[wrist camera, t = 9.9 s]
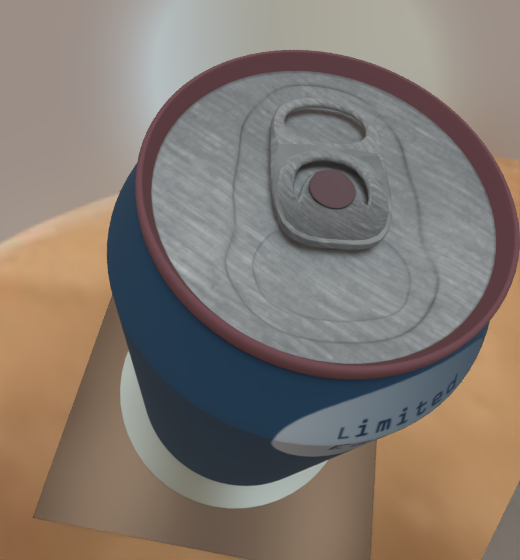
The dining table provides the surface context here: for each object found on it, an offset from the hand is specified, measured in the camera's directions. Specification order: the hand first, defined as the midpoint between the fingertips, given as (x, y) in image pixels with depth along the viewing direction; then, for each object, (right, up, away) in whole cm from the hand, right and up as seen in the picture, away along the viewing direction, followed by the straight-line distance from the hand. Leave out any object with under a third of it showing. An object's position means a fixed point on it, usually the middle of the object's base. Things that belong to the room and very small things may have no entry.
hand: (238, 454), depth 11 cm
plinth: (-1, -2, +10) cm, 10 cm away
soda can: (0, 0, +7) cm, 7 cm away
